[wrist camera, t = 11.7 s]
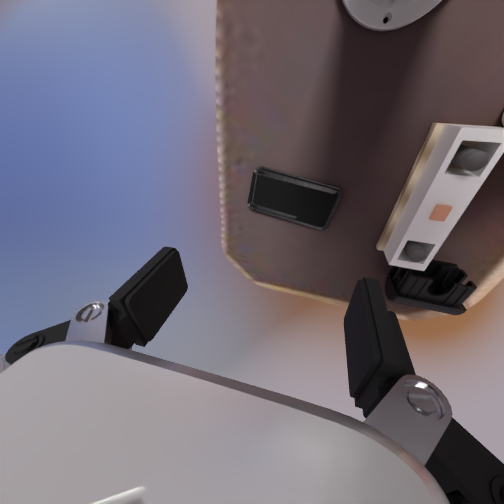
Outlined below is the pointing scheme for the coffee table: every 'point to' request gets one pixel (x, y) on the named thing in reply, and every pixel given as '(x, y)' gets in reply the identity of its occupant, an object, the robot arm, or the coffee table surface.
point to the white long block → (442, 193)
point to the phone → (293, 198)
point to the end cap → (430, 287)
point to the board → (462, 159)
